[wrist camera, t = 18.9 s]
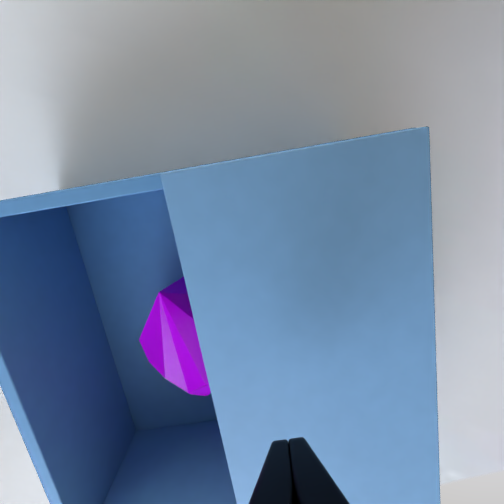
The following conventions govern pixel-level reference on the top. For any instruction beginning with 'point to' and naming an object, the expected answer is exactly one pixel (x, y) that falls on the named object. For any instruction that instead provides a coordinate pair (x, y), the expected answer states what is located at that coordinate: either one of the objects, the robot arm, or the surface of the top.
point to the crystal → (175, 340)
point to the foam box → (100, 349)
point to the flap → (318, 309)
